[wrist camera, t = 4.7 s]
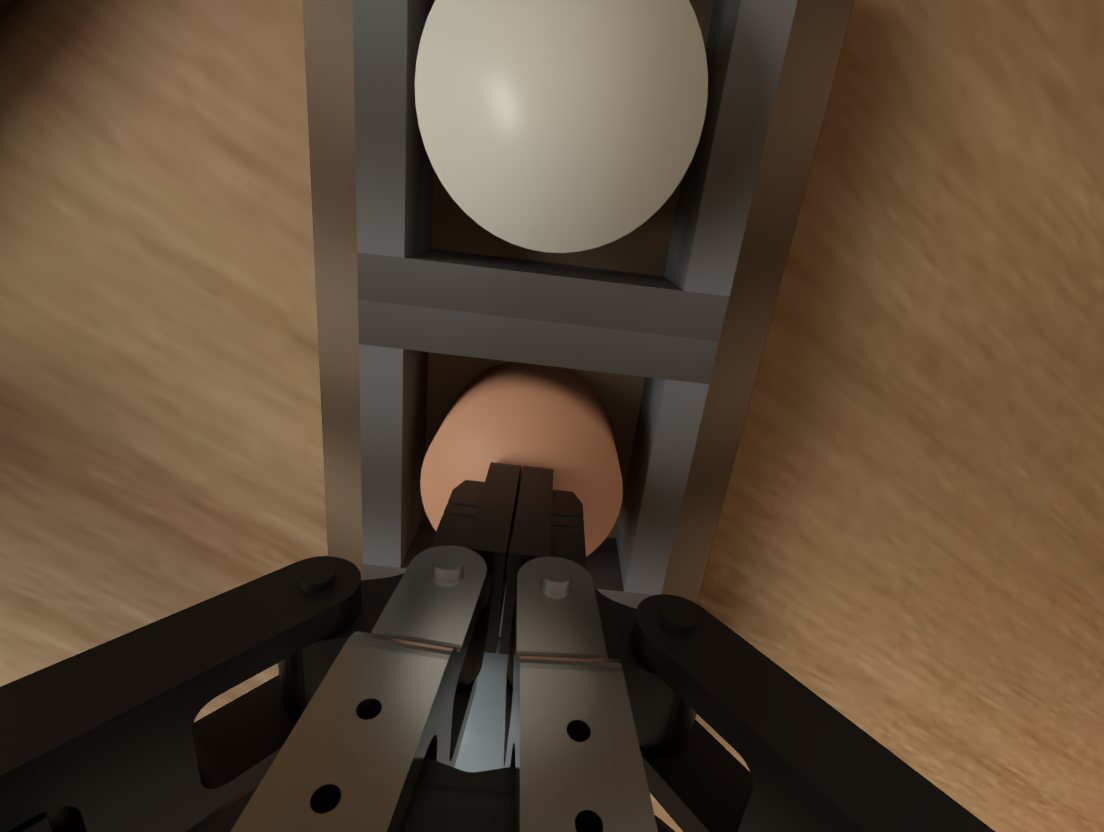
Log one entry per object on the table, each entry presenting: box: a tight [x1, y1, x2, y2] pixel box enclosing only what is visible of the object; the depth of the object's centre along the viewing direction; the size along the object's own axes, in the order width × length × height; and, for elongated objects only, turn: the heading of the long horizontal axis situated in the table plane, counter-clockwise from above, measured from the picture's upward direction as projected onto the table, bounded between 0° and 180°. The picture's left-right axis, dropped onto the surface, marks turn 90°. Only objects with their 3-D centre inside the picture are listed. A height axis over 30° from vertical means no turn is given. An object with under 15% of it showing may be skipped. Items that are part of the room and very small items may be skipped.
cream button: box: [415, 0, 708, 253], centre depth 10 cm, size 5×5×3 cm
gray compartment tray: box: [303, 0, 854, 637], centre depth 16 cm, size 24×12×4 cm, turn 174°
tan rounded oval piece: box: [420, 362, 623, 557], centre depth 14 cm, size 5×5×3 cm
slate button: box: [454, 637, 508, 772], centre depth 16 cm, size 5×5×3 cm
